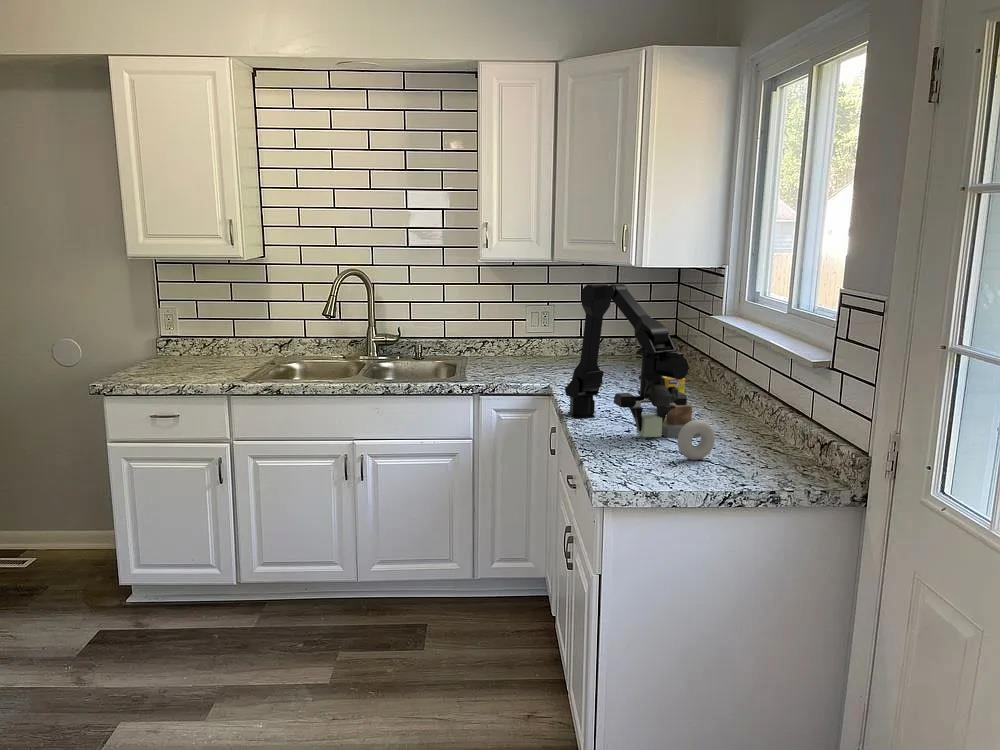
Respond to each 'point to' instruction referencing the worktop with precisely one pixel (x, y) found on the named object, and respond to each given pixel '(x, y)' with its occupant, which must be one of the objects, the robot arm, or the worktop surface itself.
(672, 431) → the block
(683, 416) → the walnut block
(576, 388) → the robot arm
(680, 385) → the supplement box
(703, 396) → the worktop surface
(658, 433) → the sage block
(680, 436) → the donut
